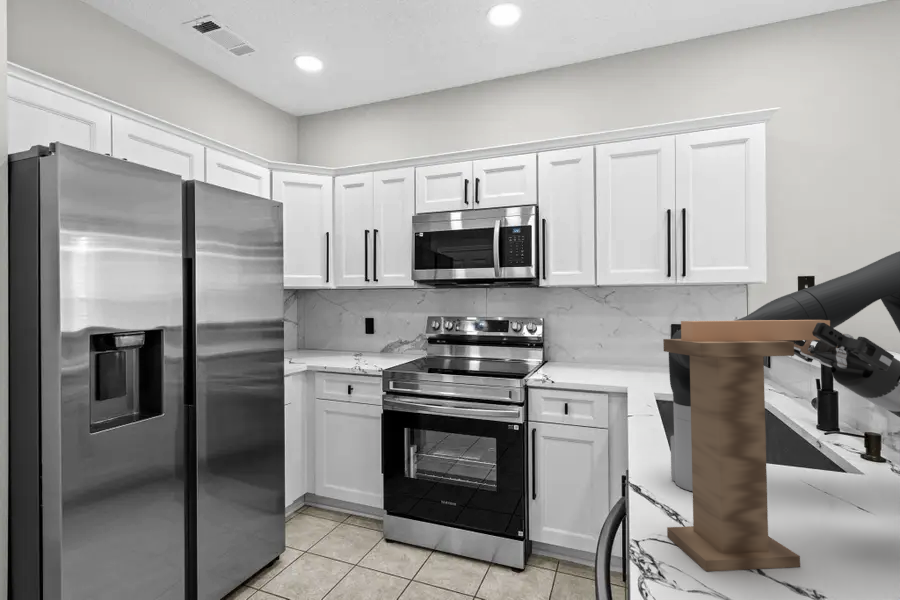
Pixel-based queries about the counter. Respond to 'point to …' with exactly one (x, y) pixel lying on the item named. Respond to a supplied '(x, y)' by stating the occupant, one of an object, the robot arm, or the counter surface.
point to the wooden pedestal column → (729, 456)
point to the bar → (749, 330)
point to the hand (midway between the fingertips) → (793, 327)
